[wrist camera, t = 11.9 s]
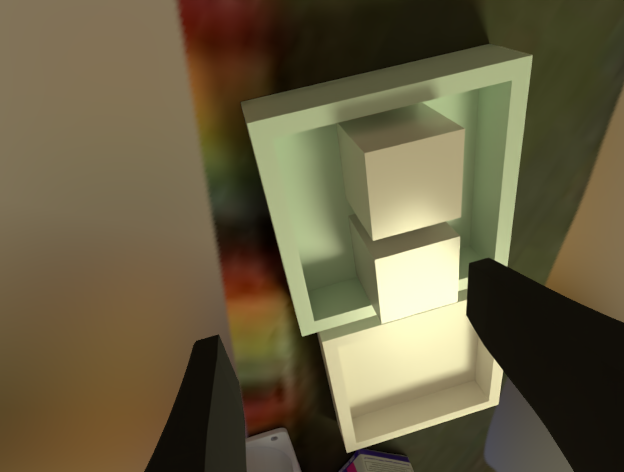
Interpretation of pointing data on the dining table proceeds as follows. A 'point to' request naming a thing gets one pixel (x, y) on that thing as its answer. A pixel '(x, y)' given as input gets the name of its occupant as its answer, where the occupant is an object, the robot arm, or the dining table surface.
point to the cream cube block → (407, 269)
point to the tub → (329, 179)
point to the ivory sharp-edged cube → (402, 169)
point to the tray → (407, 373)
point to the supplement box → (376, 462)
